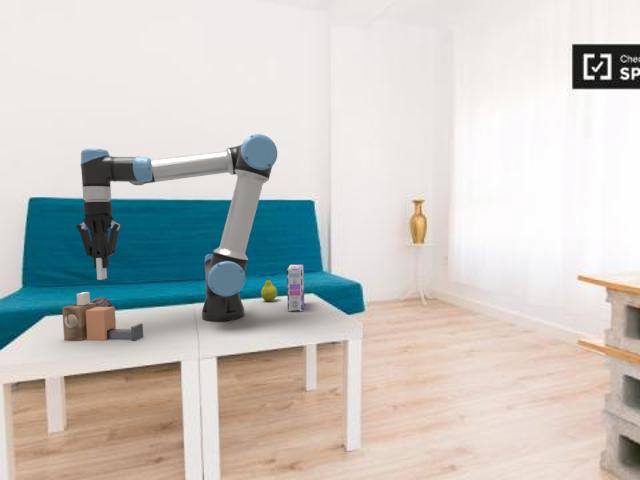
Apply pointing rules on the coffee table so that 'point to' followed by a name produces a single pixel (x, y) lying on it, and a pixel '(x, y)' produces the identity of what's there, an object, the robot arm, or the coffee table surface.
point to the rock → (102, 302)
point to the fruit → (268, 291)
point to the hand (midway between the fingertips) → (102, 278)
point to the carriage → (99, 322)
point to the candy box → (295, 287)
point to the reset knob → (83, 298)
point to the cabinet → (75, 321)
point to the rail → (126, 333)
